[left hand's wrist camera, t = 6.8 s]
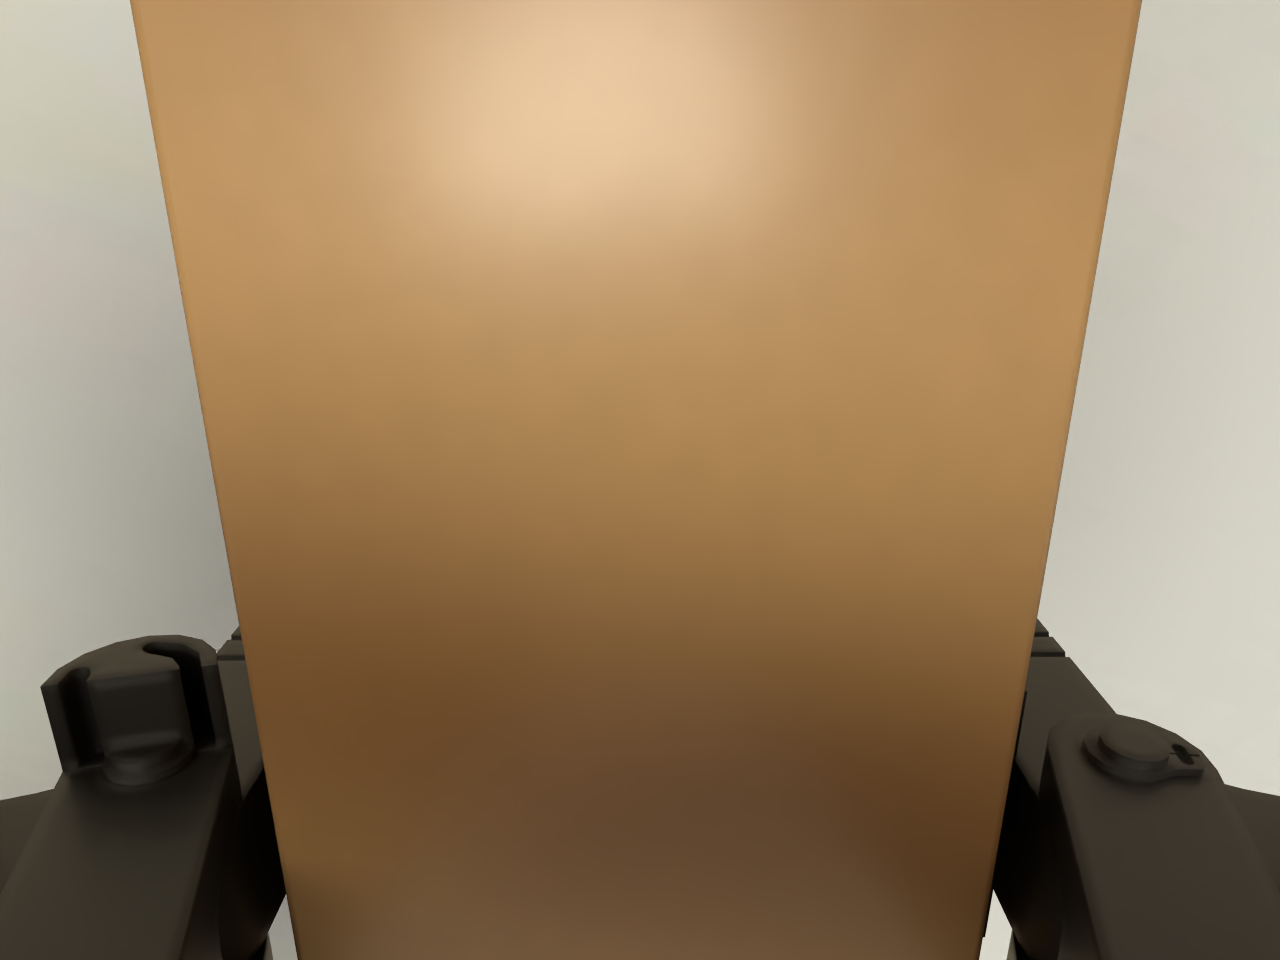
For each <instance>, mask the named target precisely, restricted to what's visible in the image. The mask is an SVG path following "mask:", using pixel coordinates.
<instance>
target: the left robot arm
mask: <svg viewBox="0 0 1280 960" xmlns="http://www.w3.org/2000/svg"><path fill="white" fill-rule="evenodd" d="M231 637H232V638H231V640H227V642H226V643H225V644H224V645H223V646H222V648H221V649H220V650H219V651H218V652H217V654H216V650H215V649H214V648H212V647H211V646H210V645H208V644H207V643H206V642H204V641H203V640H201V639H196V638H191V637H186V636H182V635H161V636H146V637H141V638H136V639H131V640H126V641H121V642H116V643H113V644H111V645H108V646H105V647H102V648H100V649H97V650H94V651H91V652H88V653H86V654H83V655H82V656H80V657H78V658H77V659H75V660H73V661H71V662H70V663H68V664H66V665H64V666H63V667H61V668H59V669H57V670H56V671H55V673H54V674H53V675H52V676H51V677H50V678H49V679H48V680H47V681H46V682H45V683H44V684H43V685H42V686H41V691H42V695H43V699H44V702H45V706H46V710H47V714H48V717H49V721H50V725H51V728H52V732H53V736H54V740H55V743H56V747H57V751H58V755H59V758H60V762H61V766H62V770H63V772H62V774H61V776H60V778H59V780H58V782H57V784H56V786H55V788H54V789H51V790H47V791H43V792H40V793H35V794H30V795H25V796H20V797H15V798H10V799H5V800H0V960H273V956H272V950H271V945H270V939H269V934H268V931H269V929H270V927H271V925H272V923H273V920H274V918H275V916H276V914H277V912H278V910H279V908H280V906H281V903H282V901H283V899H284V897H285V895H286V889H285V883H284V877H283V871H282V866H281V860H280V854H279V849H278V843H277V837H276V831H275V826H274V820H273V814H272V809H271V803H270V797H269V791H268V786H267V780H266V774H265V769H264V763H263V757H262V751H261V746H260V740H259V734H258V729H257V723H256V717H255V711H254V706H253V700H252V694H251V689H250V683H249V677H248V671H247V666H246V660H245V654H244V649H243V643H242V637H241V631H240V626H239V627H238V628H237V629H236V631H235V632H234V633H233V634H232V635H231ZM993 889H994V891H995V893H996V896H997V898H998V900H999V902H1000V904H1001V906H1002V908H1003V910H1004V912H1005V915H1006V917H1007V919H1008V921H1009V923H1010V925H1011V927H1012V934H1011V939H1010V945H1009V950H1008V955H1007V960H1280V796H1276V795H1271V794H1266V793H1261V792H1256V791H1251V790H1246V789H1241V788H1237V787H1234V786H1230V785H1226V784H1224V782H1223V780H1222V778H1221V776H1220V775H1219V773H1218V771H1217V769H1216V768H1215V767H1214V766H1213V764H1212V763H1211V762H1210V761H1209V760H1208V758H1207V757H1206V756H1205V755H1204V753H1203V752H1202V751H1201V750H1199V749H1198V748H1196V747H1195V746H1193V745H1192V744H1190V743H1189V742H1188V741H1186V740H1185V739H1183V738H1182V737H1180V736H1179V735H1177V734H1176V733H1173V732H1171V731H1168V730H1166V729H1164V728H1161V727H1159V726H1157V725H1154V724H1152V723H1150V722H1147V721H1144V720H1140V719H1136V718H1131V717H1127V716H1123V715H1118V714H1116V713H1115V711H1114V710H1113V709H1112V708H1111V707H1110V705H1109V704H1108V703H1107V702H1106V701H1105V699H1104V698H1103V697H1102V696H1101V695H1100V693H1099V692H1098V691H1097V690H1096V689H1095V687H1094V686H1093V685H1092V684H1091V683H1090V681H1089V680H1088V679H1087V678H1086V677H1085V675H1084V674H1083V673H1082V672H1081V671H1080V669H1079V668H1078V667H1077V666H1076V665H1075V663H1074V662H1073V661H1072V660H1071V659H1070V657H1065V651H1064V650H1063V649H1062V648H1061V646H1060V645H1059V644H1058V643H1057V642H1056V640H1055V639H1054V638H1053V637H1049V632H1048V631H1047V630H1046V628H1045V627H1044V626H1043V625H1042V624H1041V622H1040V621H1039V620H1038V619H1037V621H1036V627H1035V633H1034V638H1033V644H1032V650H1031V656H1030V662H1029V668H1028V674H1027V680H1026V686H1025V691H1024V697H1023V703H1022V709H1021V715H1020V721H1019V727H1018V733H1017V738H1016V744H1015V750H1014V756H1013V762H1012V768H1011V774H1010V780H1009V786H1008V791H1007V797H1006V803H1005V809H1004V815H1003V821H1002V827H1001V833H1000V838H999V844H998V850H997V856H996V862H995V868H994V874H993V880H992V886H991V891H990V897H989V903H988V909H987V915H986V921H985V927H984V933H983V937H985V934H986V928H987V922H988V916H989V911H990V905H991V899H992V893H993Z"/></svg>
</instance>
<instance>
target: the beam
mask: <svg viewBox="0 0 1280 960" xmlns="http://www.w3.org/2000/svg"><path fill="white" fill-rule="evenodd" d="M130 3H131V9H132V14H133V20H134V26H135V31H136V37H137V43H138V49H139V54H140V60H141V66H142V71H143V77H144V83H145V89H146V94H147V100H148V106H149V111H150V117H151V123H152V129H153V134H154V140H155V146H156V151H157V157H158V163H159V169H160V174H161V180H162V186H163V191H164V197H165V203H166V209H167V214H168V220H169V226H170V231H171V237H172V243H173V249H174V254H175V260H176V266H177V271H178V277H179V283H180V289H181V294H182V300H183V306H184V311H185V317H186V323H187V329H188V334H189V340H190V346H191V351H192V357H193V363H194V369H195V374H196V380H197V386H198V391H199V397H200V403H201V409H202V414H203V420H204V426H205V431H206V437H207V443H208V449H209V454H210V460H211V466H212V471H213V477H214V483H215V489H216V494H217V500H218V506H219V511H220V517H221V523H222V529H223V534H224V540H225V546H226V551H227V557H228V563H229V569H230V574H231V580H232V586H233V591H234V597H235V603H236V609H237V614H238V620H239V626H240V631H241V637H242V643H243V649H244V654H245V660H246V666H247V671H248V677H249V683H250V689H251V694H252V700H253V706H254V711H255V717H256V723H257V729H258V734H259V740H260V746H261V751H262V757H263V763H264V769H265V774H266V780H267V786H268V791H269V797H270V803H271V809H272V814H273V820H274V826H275V831H276V837H277V843H278V849H279V854H280V860H281V866H282V871H283V877H284V883H285V889H286V894H287V900H288V906H289V911H290V917H291V923H292V929H293V934H294V940H295V946H296V952H297V957H298V960H979V956H980V950H981V944H982V938H983V933H984V927H985V921H986V915H987V909H988V903H989V897H990V891H991V886H992V880H993V874H994V868H995V862H996V856H997V850H998V844H999V838H1000V833H1001V827H1002V821H1003V815H1004V809H1005V803H1006V797H1007V791H1008V786H1009V780H1010V774H1011V768H1012V762H1013V756H1014V750H1015V744H1016V738H1017V733H1018V727H1019V721H1020V715H1021V709H1022V703H1023V697H1024V691H1025V686H1026V680H1027V674H1028V668H1029V662H1030V656H1031V650H1032V644H1033V638H1034V633H1035V627H1036V621H1037V615H1038V609H1039V603H1040V597H1041V591H1042V586H1043V580H1044V574H1045V568H1046V562H1047V556H1048V550H1049V544H1050V538H1051V533H1052V527H1053V521H1054V515H1055V509H1056V503H1057V497H1058V491H1059V486H1060V480H1061V474H1062V468H1063V462H1064V456H1065V450H1066V444H1067V438H1068V433H1069V427H1070V421H1071V415H1072V409H1073V403H1074V397H1075V391H1076V386H1077V380H1078V374H1079V368H1080V362H1081V356H1082V350H1083V344H1084V338H1085V333H1086V327H1087V321H1088V315H1089V309H1090V303H1091V297H1092V291H1093V286H1094V280H1095V274H1096V268H1097V262H1098V256H1099V250H1100V244H1101V238H1102V233H1103V227H1104V221H1105V215H1106V209H1107V203H1108V197H1109V191H1110V186H1111V180H1112V174H1113V168H1114V162H1115V156H1116V150H1117V144H1118V138H1119V133H1120V127H1121V121H1122V115H1123V109H1124V103H1125V97H1126V91H1127V86H1128V80H1129V74H1130V68H1131V62H1132V56H1133V50H1134V44H1135V38H1136V33H1137V27H1138V21H1139V15H1140V9H1141V3H1142V0H130Z"/></svg>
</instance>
